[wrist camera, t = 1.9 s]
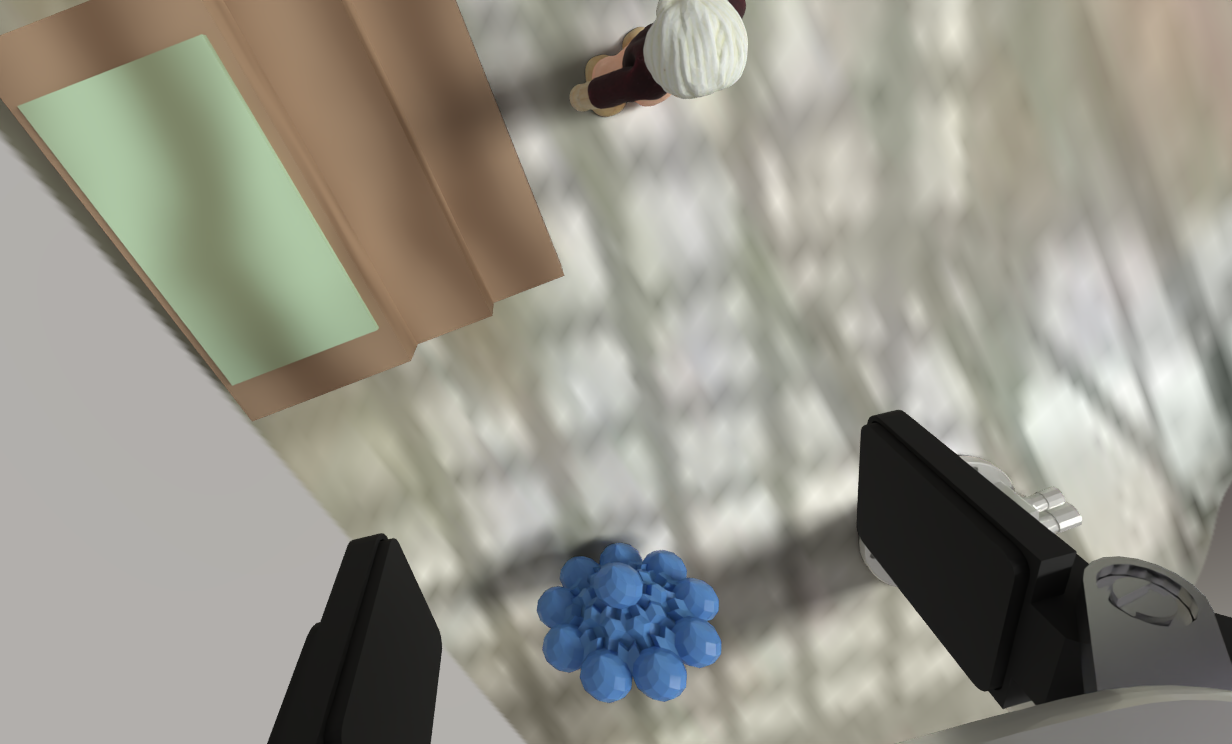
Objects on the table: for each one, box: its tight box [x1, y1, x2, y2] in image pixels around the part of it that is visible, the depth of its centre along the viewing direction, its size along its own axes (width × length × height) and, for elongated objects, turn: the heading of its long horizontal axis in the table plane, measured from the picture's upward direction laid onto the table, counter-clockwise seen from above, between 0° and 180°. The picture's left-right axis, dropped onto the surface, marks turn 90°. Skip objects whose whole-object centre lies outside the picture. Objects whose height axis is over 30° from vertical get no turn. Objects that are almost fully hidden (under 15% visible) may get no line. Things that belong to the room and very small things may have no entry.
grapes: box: [537, 543, 721, 703], centre depth 36 cm, size 12×7×12 cm, turn 102°
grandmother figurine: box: [570, 0, 748, 117], centre depth 22 cm, size 8×4×13 cm, turn 130°
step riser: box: [0, 0, 564, 421], centre depth 25 cm, size 16×16×6 cm
